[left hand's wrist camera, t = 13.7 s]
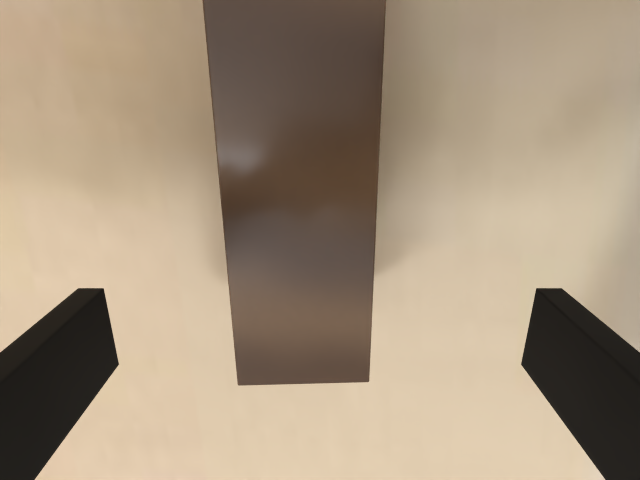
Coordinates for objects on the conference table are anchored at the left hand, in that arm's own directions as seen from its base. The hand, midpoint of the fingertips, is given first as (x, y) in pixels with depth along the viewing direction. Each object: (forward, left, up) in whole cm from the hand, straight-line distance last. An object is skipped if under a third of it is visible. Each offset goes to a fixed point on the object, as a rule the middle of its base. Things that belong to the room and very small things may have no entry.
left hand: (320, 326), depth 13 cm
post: (+14, -15, -12) cm, 24 cm away
